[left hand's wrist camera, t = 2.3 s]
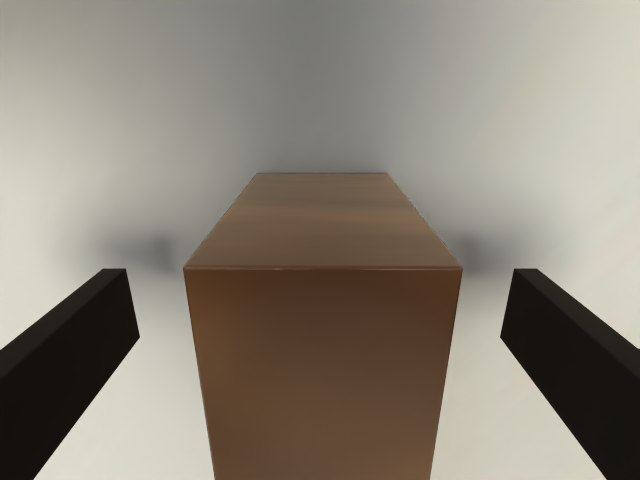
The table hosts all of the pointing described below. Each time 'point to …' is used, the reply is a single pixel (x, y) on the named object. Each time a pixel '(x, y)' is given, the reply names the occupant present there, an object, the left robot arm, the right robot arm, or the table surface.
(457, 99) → the table surface
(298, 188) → the bar
